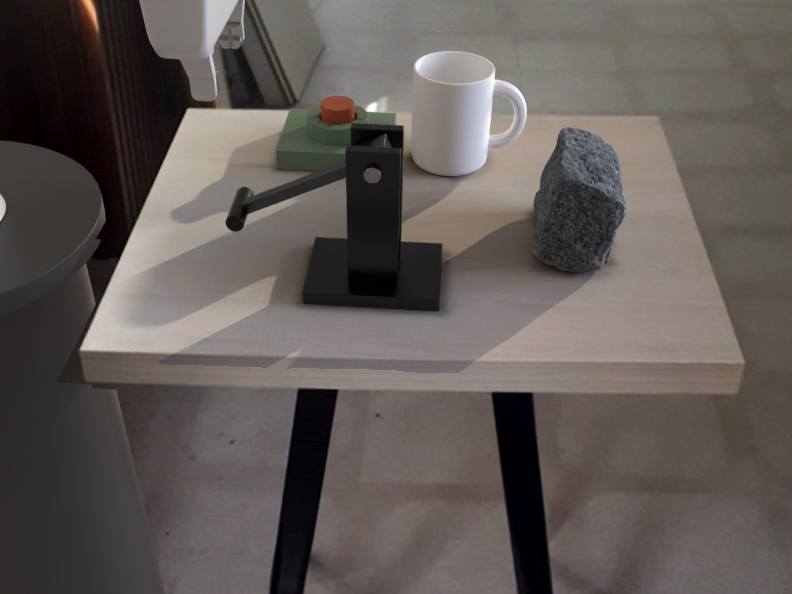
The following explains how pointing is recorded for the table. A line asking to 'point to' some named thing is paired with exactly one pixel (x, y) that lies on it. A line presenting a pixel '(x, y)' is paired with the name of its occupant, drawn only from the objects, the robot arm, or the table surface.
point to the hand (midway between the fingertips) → (220, 70)
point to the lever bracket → (374, 237)
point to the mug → (458, 112)
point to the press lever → (289, 189)
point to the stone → (578, 203)
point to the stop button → (337, 110)
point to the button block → (319, 138)
